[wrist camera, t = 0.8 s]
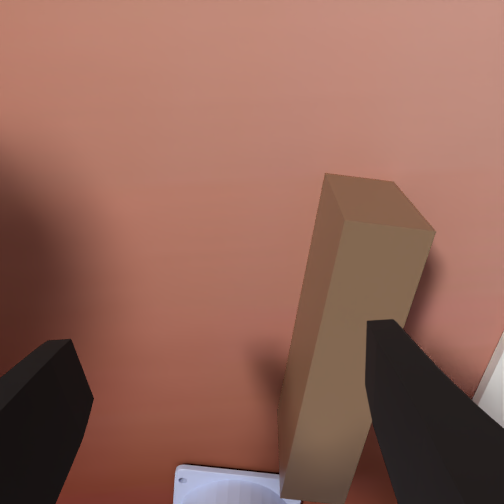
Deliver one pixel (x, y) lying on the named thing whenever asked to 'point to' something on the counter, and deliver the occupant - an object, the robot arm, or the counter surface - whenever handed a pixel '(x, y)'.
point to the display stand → (493, 386)
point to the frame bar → (344, 329)
